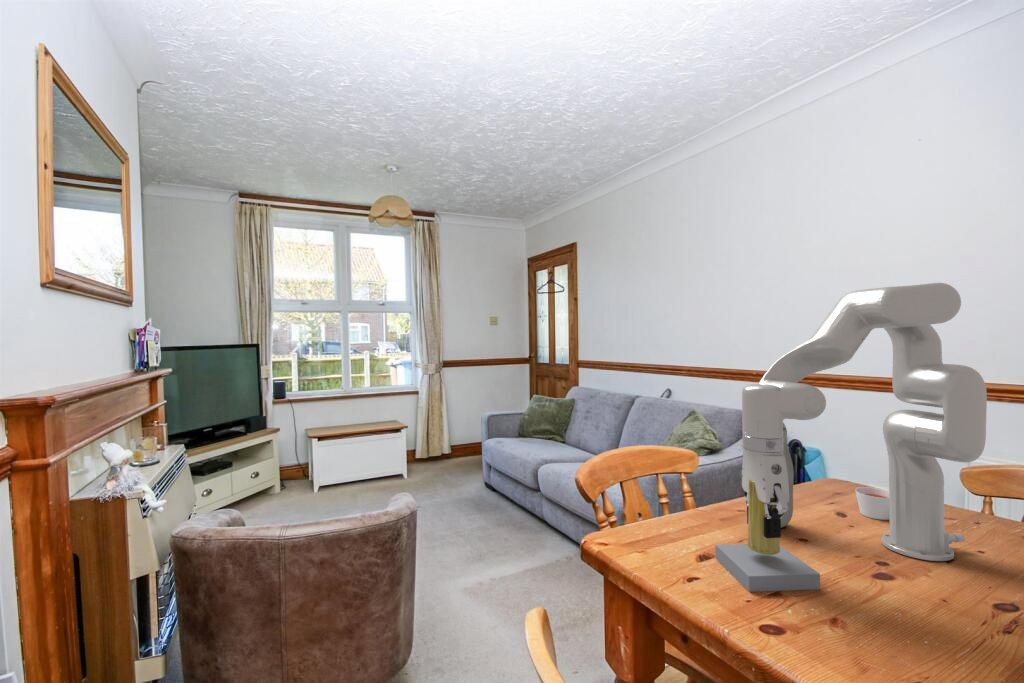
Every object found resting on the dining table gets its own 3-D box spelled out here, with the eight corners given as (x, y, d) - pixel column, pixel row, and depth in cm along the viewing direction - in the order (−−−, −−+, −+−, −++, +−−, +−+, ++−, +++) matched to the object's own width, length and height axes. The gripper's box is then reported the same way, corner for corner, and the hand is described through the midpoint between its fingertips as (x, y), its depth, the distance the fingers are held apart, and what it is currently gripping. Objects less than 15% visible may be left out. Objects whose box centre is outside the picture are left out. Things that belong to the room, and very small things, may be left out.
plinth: (777, 556, 106) (776, 542, 106) (820, 589, 92) (819, 573, 92) (715, 558, 105) (715, 544, 105) (749, 591, 91) (748, 576, 91)
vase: (784, 556, 95) (784, 485, 95) (751, 553, 96) (751, 483, 96) (774, 543, 101) (773, 476, 101) (743, 541, 102) (742, 475, 102)
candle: (906, 521, 123) (906, 497, 123) (871, 522, 124) (871, 498, 124) (880, 509, 132) (879, 486, 132) (847, 509, 133) (847, 487, 133)
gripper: (807, 453, 90) (808, 548, 90) (757, 435, 107) (758, 515, 107) (768, 454, 90) (769, 550, 90) (724, 436, 107) (725, 516, 107)
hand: (763, 530), depth 98 cm, fingers closed on vase, 5 cm apart
